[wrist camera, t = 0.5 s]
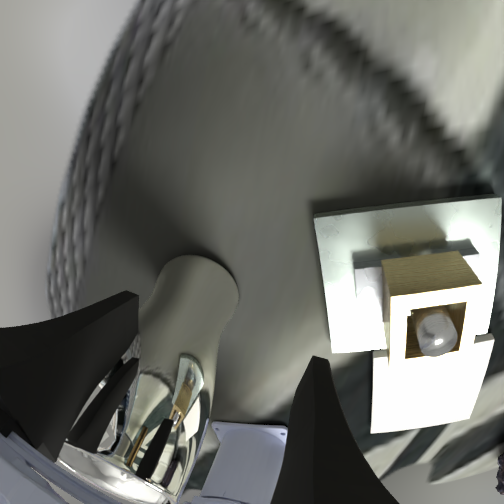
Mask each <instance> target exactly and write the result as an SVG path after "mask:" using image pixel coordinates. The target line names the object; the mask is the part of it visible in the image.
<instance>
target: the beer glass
mask: <svg viewBox="0 0 504 504" xmlns="http://www.w3.org/2000/svg"><path fill="white" fill-rule="evenodd" d="M238 302H239V293H238V288H237V285H236V283H235V281H234V279H233V278H232V276H231V275H230V274H229V272H228V271H227V270H226V269H225V268H223V267H222V266H221V265H219V264H218V263H216V262H215V261H213V260H211V259H208V258H206V257H202V256H198V255H183V256H179V257H176V258H174V259H172V260H171V261H169V262H168V263H167V264H166V265H165V266H164V267H163V269H162V270H161V272H160V274H159V276H158V279H157V281H156V284H155V287H154V289H153V292H152V294H151V295H150V297H149V298H148V300H147V301H146V302H145V303H144V305H143V306H142V307H141V308H140V309H139V313H138V330H139V332H138V334H137V336H136V337H135V339H134V341H133V342H132V344H131V345H130V347H129V348H128V350H127V351H126V353H125V354H124V355H123V356H122V357H121V359H120V360H119V361H118V362H117V363H116V365H115V366H114V367H113V368H112V369H111V371H110V372H109V373H108V374H107V375H106V376H105V378H104V379H103V380H102V381H101V382H100V384H99V385H98V386H97V387H96V389H95V390H94V391H93V393H92V394H91V396H90V398H89V399H88V401H87V402H86V404H85V406H84V407H83V409H82V411H81V412H80V414H79V416H78V417H77V419H76V421H75V423H74V425H73V427H72V428H71V430H70V432H69V434H68V436H67V438H66V440H65V442H64V445H63V447H62V449H61V451H60V454H59V456H58V458H57V460H58V461H59V462H60V463H62V464H63V465H64V466H65V467H67V468H68V469H69V470H71V471H72V472H73V473H75V474H76V475H78V476H79V477H81V478H83V479H84V480H86V481H88V482H89V483H91V484H93V485H95V486H96V487H98V488H100V489H102V490H104V491H106V492H108V493H111V494H113V495H115V496H117V497H120V498H122V499H125V500H127V501H130V502H133V503H136V504H178V503H179V500H180V497H181V495H182V493H183V490H184V488H185V486H186V483H187V481H188V479H189V477H190V474H191V472H192V470H193V467H194V465H195V462H196V460H197V457H198V454H199V452H200V449H201V446H202V443H203V440H204V437H205V434H206V430H207V426H208V422H209V419H210V415H211V409H212V402H213V396H214V388H215V378H216V367H217V356H218V348H219V342H220V338H221V335H222V333H223V330H224V329H225V327H226V325H227V324H228V322H229V321H230V319H231V318H232V316H233V315H234V313H235V311H236V309H237V306H238Z"/></svg>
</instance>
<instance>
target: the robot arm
mask: <svg viewBox="0 0 504 504" xmlns="http://www.w3.org/2000/svg"><path fill="white" fill-rule="evenodd" d="M138 313H139V295H137V294H134V293H132V292H129V291H127V290H126V291H123V292H121V293H118V294H116V295H114V296H111V297H109V298H107V299H104V300H102V301H100V302H97V303H95V304H93V305H90V306H88V307H85V308H83V309H80V310H77V311H75V312H72V313H69V314H67V315H64V316H61V317H58V318H54V319H51V320H47V321H43V322H39V323H34V324H29V325H22V326H16V327H6V328H0V504H69V503H67V502H66V501H65V500H64V499H63V498H62V497H61V496H60V495H59V494H57V493H56V492H55V491H54V490H53V489H52V487H51V486H50V485H49V483H48V482H47V481H46V480H45V479H43V478H42V477H41V476H40V475H39V474H41V475H42V476H44V477H45V478H46V479H48V480H49V481H50V482H52V483H53V484H55V485H56V486H58V487H59V488H61V489H62V490H64V491H65V492H67V493H68V494H70V495H71V496H73V497H74V498H76V499H78V500H79V501H81V502H82V503H84V504H122V503H120V502H118V501H116V500H114V499H112V498H110V497H108V496H107V495H105V494H103V493H101V492H100V491H98V490H96V489H94V488H93V487H91V486H89V485H87V484H86V483H84V482H83V481H81V480H79V479H78V478H76V477H75V476H73V475H71V474H70V473H68V472H67V471H65V470H64V469H62V468H61V467H59V466H58V465H56V464H55V463H54V462H56V461H57V458H58V456H59V454H60V451H61V449H62V447H63V445H64V442H65V440H66V438H67V436H68V434H69V432H70V430H71V428H72V427H73V425H74V423H75V421H76V419H77V417H78V416H79V414H80V412H81V411H82V409H83V407H84V406H85V404H86V402H87V401H88V399H89V398H90V396H91V394H92V393H93V391H94V390H95V389H96V387H97V386H98V385H99V384H100V382H101V381H102V380H103V379H104V378H105V376H106V375H107V374H108V373H109V372H110V371H111V369H112V368H113V367H114V366H115V365H116V363H117V362H118V361H119V360H120V359H121V357H122V356H123V355H124V354H125V353H126V351H127V350H128V348H129V347H130V345H131V344H132V342H133V341H134V339H135V337H136V336H137V334H138V332H139V330H138ZM212 428H213V430H214V431H215V433H216V435H217V437H218V439H219V441H220V443H221V444H220V447H219V449H218V452H217V454H216V457H215V459H214V462H213V464H212V467H211V469H210V472H209V474H208V477H207V479H206V482H205V484H204V486H203V489H202V491H201V494H200V496H199V497H198V496H194V497H193V500H192V502H191V503H190V502H184V503H182V504H399V503H398V502H397V500H396V499H395V498H394V497H393V496H392V495H391V494H390V493H389V491H388V490H387V489H386V488H385V487H384V486H383V484H382V483H381V482H380V480H379V479H378V478H377V476H376V475H375V473H374V472H373V470H372V469H371V467H370V465H369V464H368V462H367V461H366V459H365V458H364V456H363V454H362V452H361V450H360V449H359V447H358V445H357V443H356V441H355V439H354V437H353V434H352V432H351V430H350V428H349V425H348V423H347V420H346V418H345V415H344V412H343V409H342V407H341V403H340V400H339V397H338V394H337V391H336V387H335V384H334V380H333V376H332V372H331V368H330V363H329V361H328V360H327V359H324V358H320V357H317V356H312V358H311V360H310V362H309V364H308V366H307V369H306V371H305V373H304V375H303V377H302V379H301V381H300V383H299V385H298V387H297V389H296V392H295V396H294V400H293V404H292V408H291V412H290V418H289V425H288V428H287V427H286V426H277V425H254V424H239V423H227V422H216V421H214V422H213V423H212ZM31 467H32V468H33V469H34V470H35V471H37V472H38V473H39V474H37V473H36V472H35V471H34V470H33V469H32V468H31Z"/></svg>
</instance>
